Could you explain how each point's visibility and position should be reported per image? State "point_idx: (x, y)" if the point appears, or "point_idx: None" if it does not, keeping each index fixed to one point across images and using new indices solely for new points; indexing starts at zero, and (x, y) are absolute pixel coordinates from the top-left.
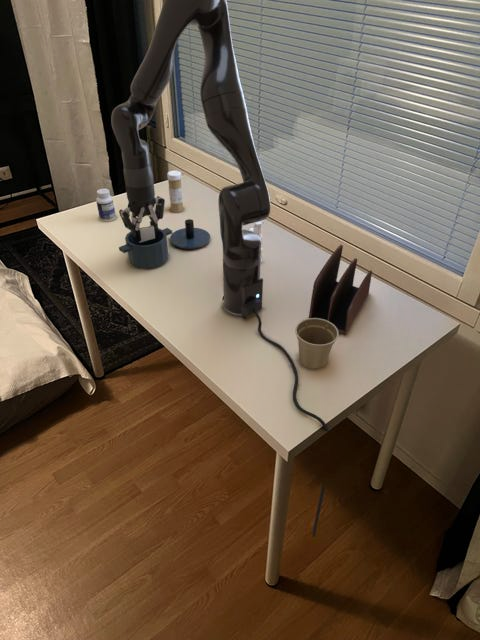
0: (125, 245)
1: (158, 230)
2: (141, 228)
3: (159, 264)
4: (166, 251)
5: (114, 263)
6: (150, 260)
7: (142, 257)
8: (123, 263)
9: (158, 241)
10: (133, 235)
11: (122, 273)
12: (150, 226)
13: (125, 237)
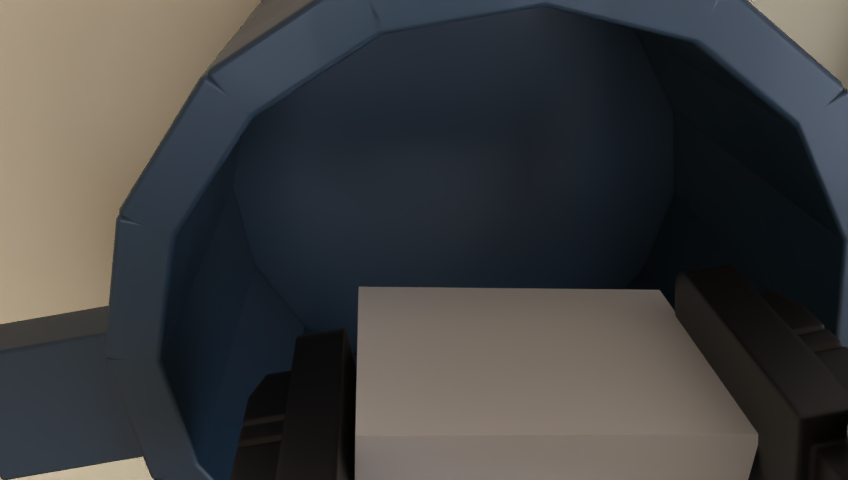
0: (77, 367)
1: (835, 246)
2: (480, 443)
3: None
4: None
5: (10, 49)
6: None
7: None
8: (127, 114)
9: (721, 138)
10: (244, 443)
11: (57, 308)
12: (697, 461)
13: (132, 196)
